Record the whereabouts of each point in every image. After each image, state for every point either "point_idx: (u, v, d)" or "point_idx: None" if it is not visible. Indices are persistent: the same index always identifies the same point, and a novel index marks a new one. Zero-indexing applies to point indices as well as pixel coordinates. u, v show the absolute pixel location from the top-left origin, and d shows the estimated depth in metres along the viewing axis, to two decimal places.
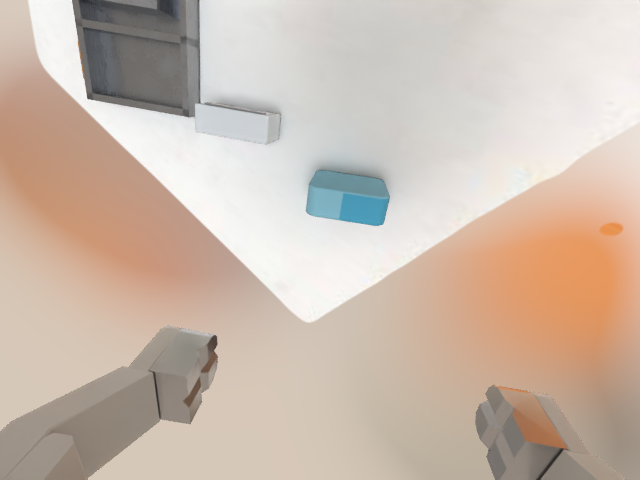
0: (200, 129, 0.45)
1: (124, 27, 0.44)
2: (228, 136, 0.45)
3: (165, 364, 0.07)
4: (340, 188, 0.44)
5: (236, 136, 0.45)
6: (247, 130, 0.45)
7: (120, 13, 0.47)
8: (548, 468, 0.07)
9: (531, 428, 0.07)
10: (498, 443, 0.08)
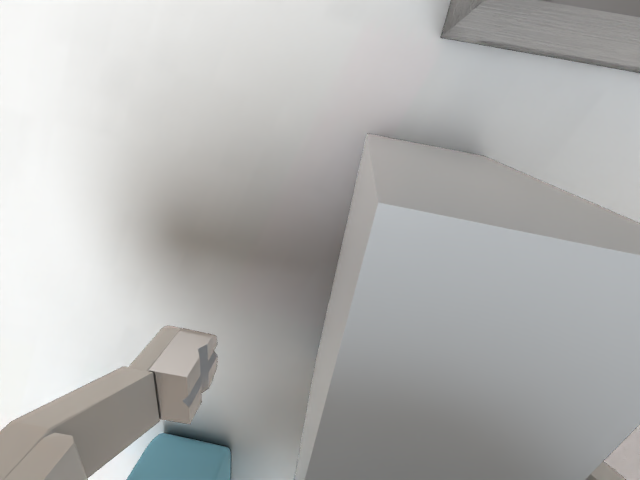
0: (405, 275, 0.03)
1: None
2: (317, 478, 0.05)
3: (165, 364, 0.07)
4: None
5: None
6: None
7: None
8: None
9: None
10: None
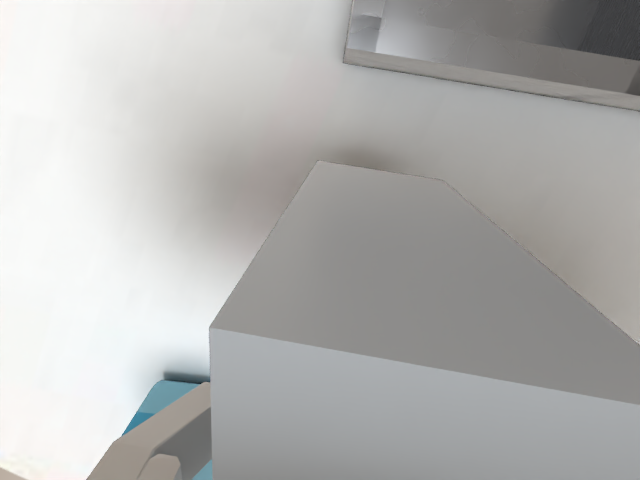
0: (266, 405, 0.03)
1: None
2: None
3: None
4: None
5: None
6: None
7: None
8: None
9: None
10: None
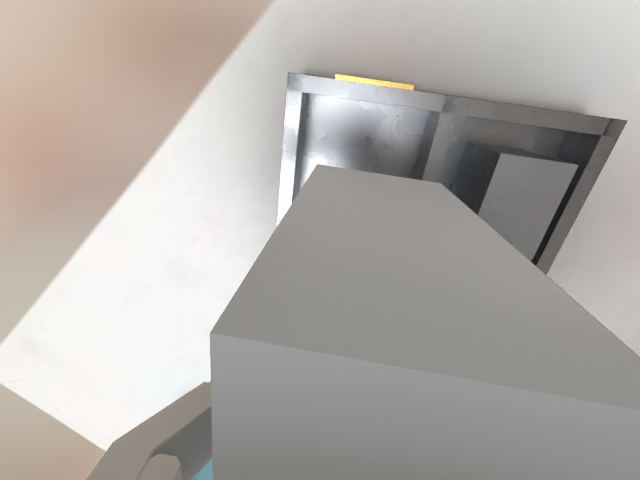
0: (265, 409, 0.03)
1: None
2: None
3: None
4: None
5: None
6: None
7: (452, 168, 0.24)
8: None
9: None
10: None
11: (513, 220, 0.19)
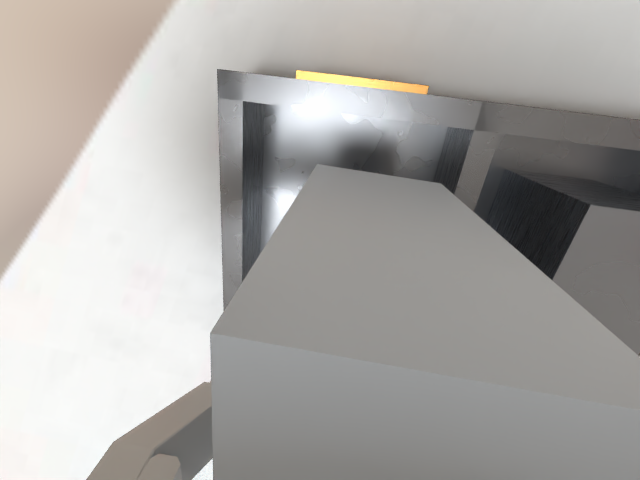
0: (266, 407, 0.03)
1: None
2: None
3: None
4: None
5: None
6: None
7: (483, 207, 0.16)
8: None
9: None
10: None
11: (601, 311, 0.11)
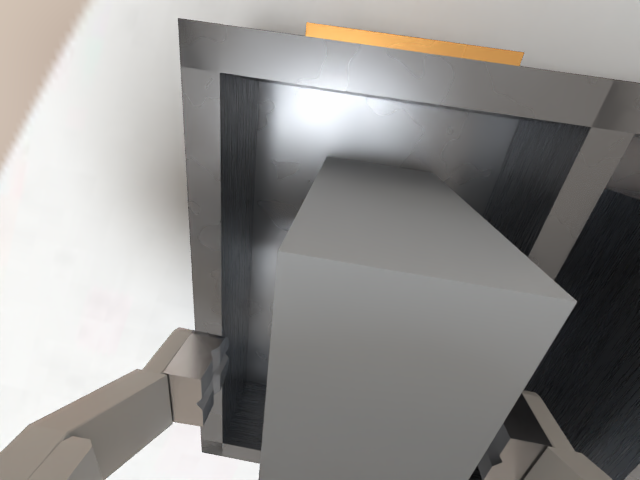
0: (308, 304, 0.04)
1: None
2: (269, 469, 0.06)
3: (178, 366, 0.07)
4: None
5: None
6: None
7: None
8: (533, 465, 0.07)
9: (516, 425, 0.07)
10: None
11: None
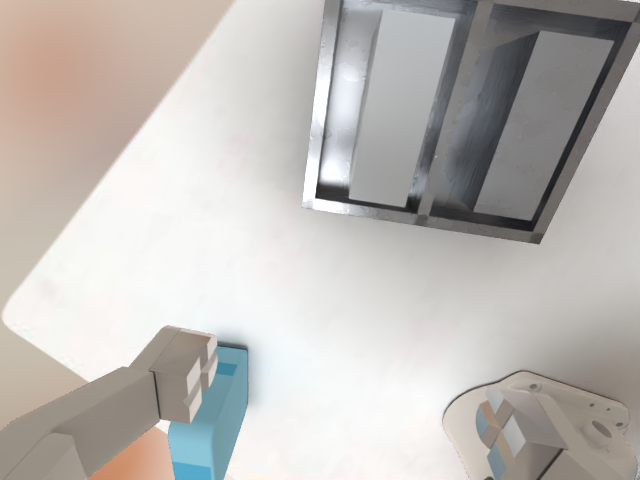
0: (389, 26, 0.17)
1: (458, 111, 0.23)
2: (368, 109, 0.19)
3: (165, 364, 0.07)
4: (217, 452, 0.32)
5: (367, 129, 0.19)
6: (379, 159, 0.20)
7: (481, 76, 0.24)
8: (549, 468, 0.07)
9: (531, 428, 0.07)
10: (498, 443, 0.08)
11: (548, 105, 0.20)
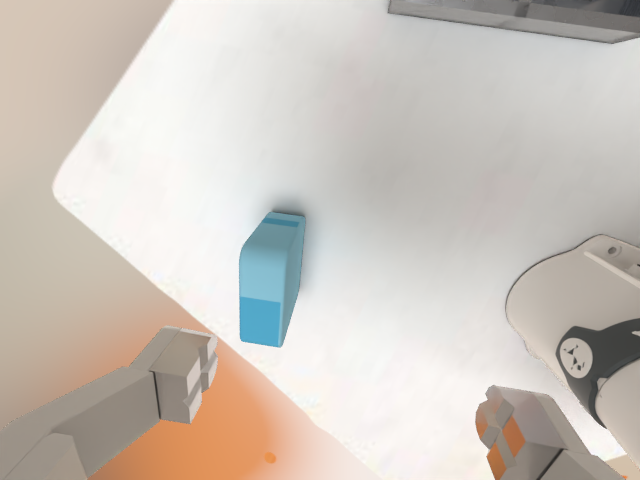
0: None
1: None
2: None
3: (165, 364, 0.07)
4: (286, 291, 0.30)
5: None
6: None
7: None
8: (549, 468, 0.07)
9: (531, 428, 0.07)
10: (498, 443, 0.08)
11: None
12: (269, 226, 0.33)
